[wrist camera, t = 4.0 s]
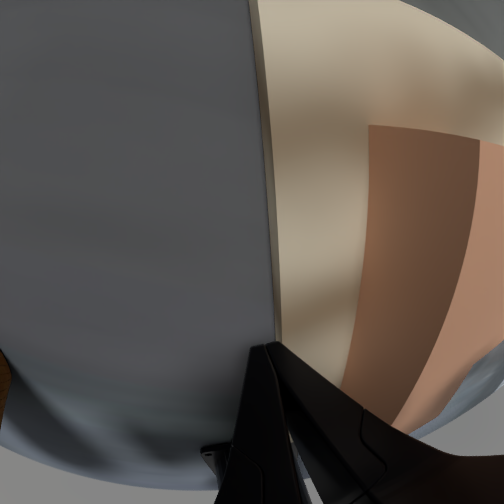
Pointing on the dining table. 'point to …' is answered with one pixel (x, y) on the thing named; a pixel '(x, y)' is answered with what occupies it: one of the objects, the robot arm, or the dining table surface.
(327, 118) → the board
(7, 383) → the disposable coffee cup
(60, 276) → the dining table surface
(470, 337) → the t block
